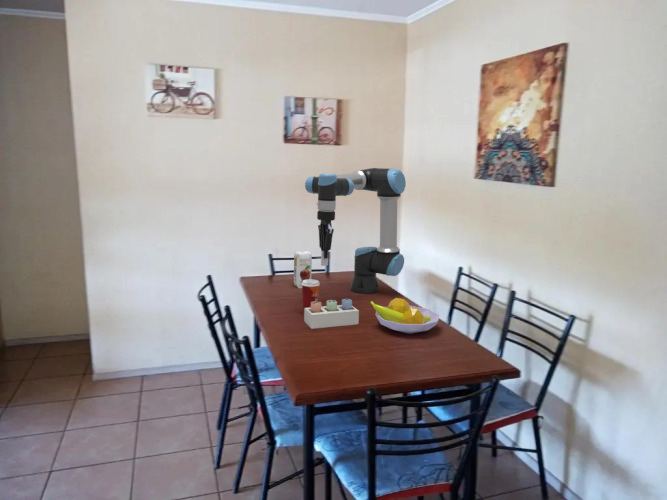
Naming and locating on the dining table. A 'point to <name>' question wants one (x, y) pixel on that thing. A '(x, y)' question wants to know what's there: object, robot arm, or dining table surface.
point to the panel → (331, 317)
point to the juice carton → (302, 267)
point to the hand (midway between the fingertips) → (324, 265)
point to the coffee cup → (309, 292)
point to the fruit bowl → (405, 316)
